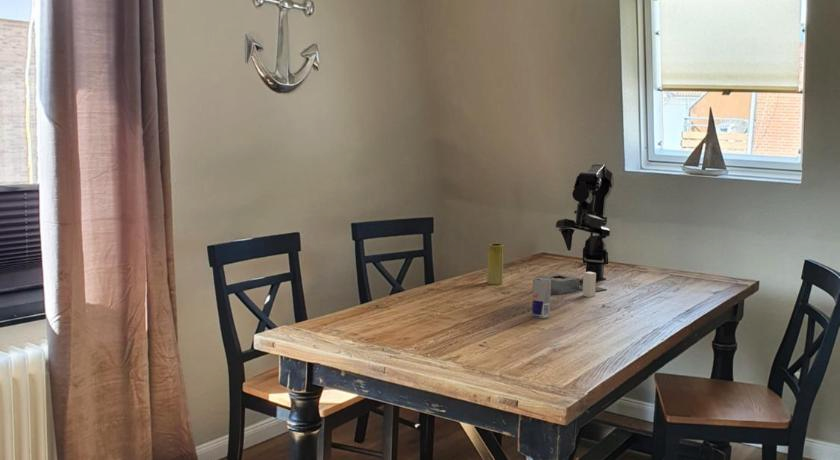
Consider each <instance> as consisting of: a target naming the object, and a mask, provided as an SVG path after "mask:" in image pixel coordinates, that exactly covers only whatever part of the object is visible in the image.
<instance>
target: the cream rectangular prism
mask: <svg viewBox="0 0 840 460" xmlns="http://www.w3.org/2000/svg"><path fill="white" fill-rule="evenodd" d="M582 279H583V280H582V286H583V291H582V296H584V297H587V298H591V297H595V296H596V292H595V287H597V286H596V284H597V281H596V273H594V272H586V271H584V272H583V276H582Z"/></svg>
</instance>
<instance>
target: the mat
mask: <svg viewBox="0 0 840 460" xmlns="http://www.w3.org/2000/svg"><path fill="white" fill-rule="evenodd" d="M607 290H608V289H607V288H603V287H599V286H595V293H600V292H604V291H607ZM579 291H581V292H583V285H582V286H579Z"/></svg>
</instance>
